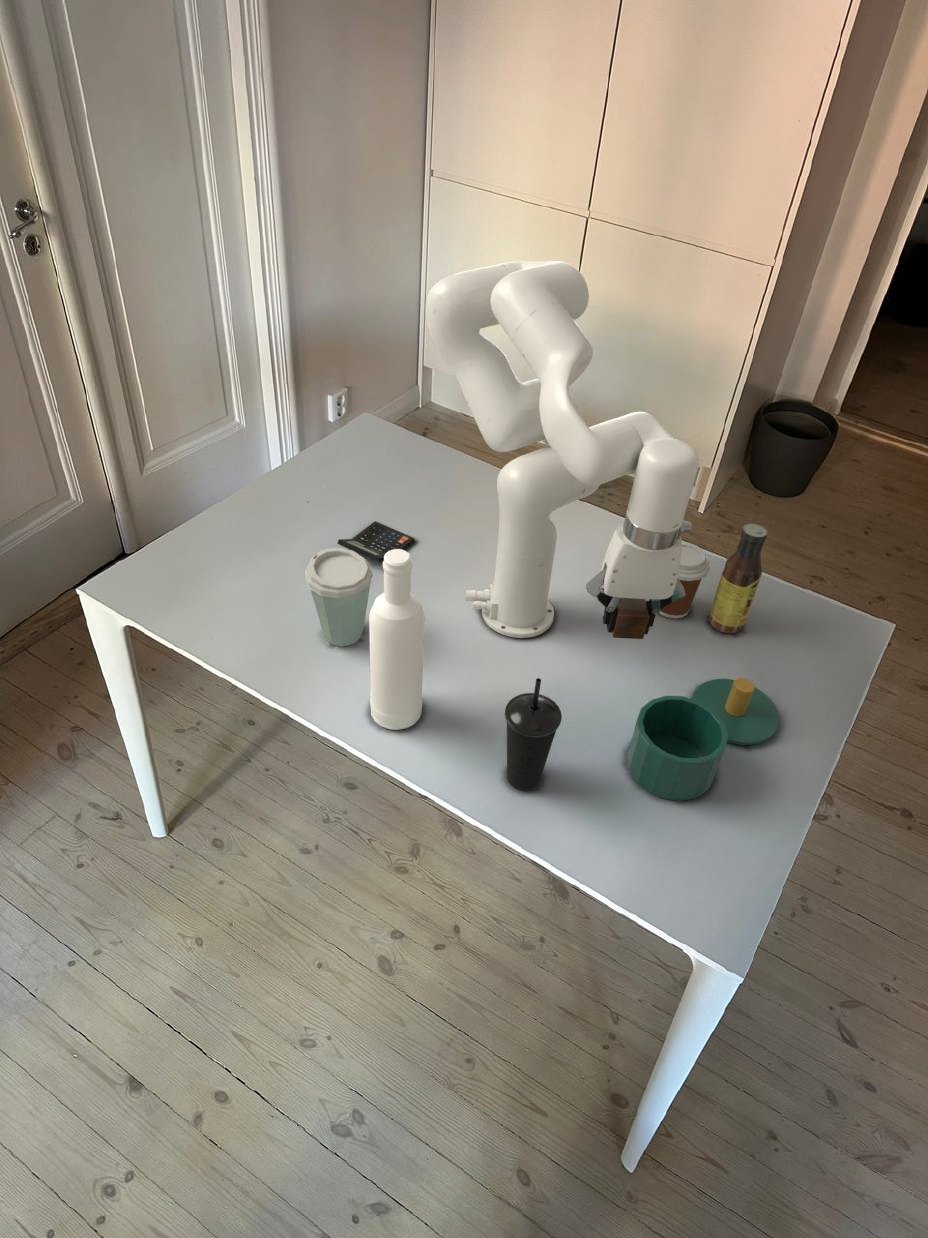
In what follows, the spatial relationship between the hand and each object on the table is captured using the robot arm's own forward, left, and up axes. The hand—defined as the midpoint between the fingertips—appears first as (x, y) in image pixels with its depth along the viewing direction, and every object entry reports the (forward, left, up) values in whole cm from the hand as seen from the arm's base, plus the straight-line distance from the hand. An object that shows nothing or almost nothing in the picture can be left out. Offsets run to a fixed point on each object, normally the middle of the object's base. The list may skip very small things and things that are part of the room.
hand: (626, 626), depth 130 cm
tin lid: (+19, -3, -14) cm, 24 cm away
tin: (+7, -14, -15) cm, 22 cm away
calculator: (-40, +37, -15) cm, 56 cm away
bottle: (-34, -5, -15) cm, 37 cm away
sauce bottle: (+23, +19, -15) cm, 33 cm away
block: (0, 0, 0) cm, 0 cm away
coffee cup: (+14, +23, -15) cm, 31 cm away
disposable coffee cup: (-44, +12, -15) cm, 48 cm away
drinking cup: (-15, -17, -15) cm, 27 cm away
